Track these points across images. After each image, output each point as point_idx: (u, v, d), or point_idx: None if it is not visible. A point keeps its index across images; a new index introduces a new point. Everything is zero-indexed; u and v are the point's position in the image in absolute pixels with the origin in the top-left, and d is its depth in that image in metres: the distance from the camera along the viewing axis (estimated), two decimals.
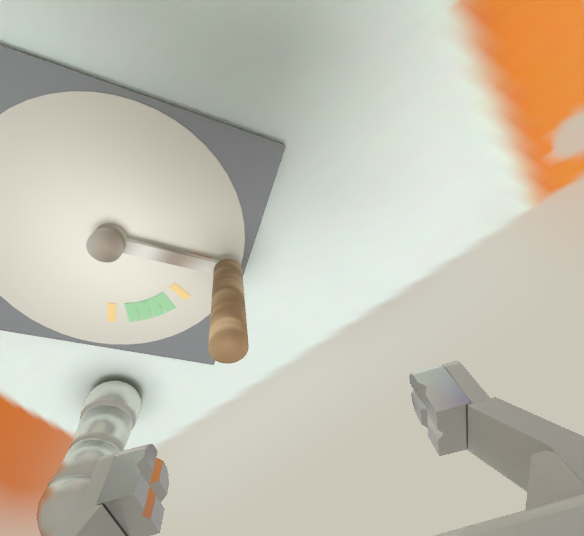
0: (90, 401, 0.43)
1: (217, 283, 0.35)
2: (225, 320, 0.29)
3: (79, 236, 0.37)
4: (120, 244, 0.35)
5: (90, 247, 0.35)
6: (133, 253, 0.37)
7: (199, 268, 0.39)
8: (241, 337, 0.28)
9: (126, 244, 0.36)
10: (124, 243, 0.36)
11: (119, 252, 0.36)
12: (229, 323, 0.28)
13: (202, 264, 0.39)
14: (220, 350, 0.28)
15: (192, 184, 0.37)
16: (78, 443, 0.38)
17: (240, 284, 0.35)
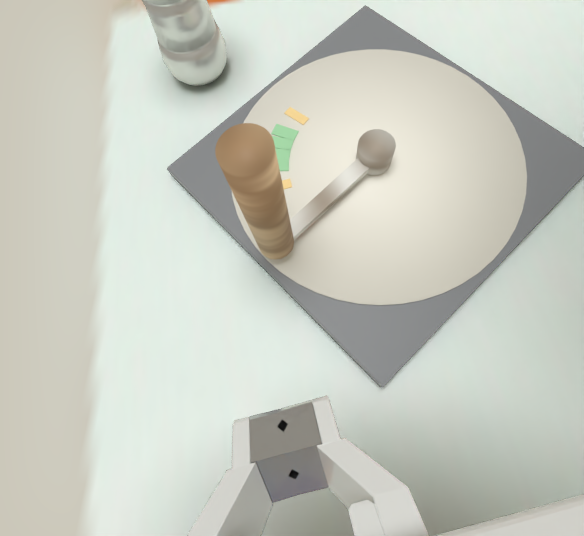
0: (220, 36, 0.37)
1: None
2: (275, 173, 0.20)
3: None
4: (372, 159, 0.31)
5: (383, 133, 0.32)
6: (351, 166, 0.32)
7: (298, 216, 0.31)
8: (249, 170, 0.18)
9: (364, 166, 0.32)
10: (367, 165, 0.32)
11: (364, 153, 0.31)
12: (271, 173, 0.19)
13: (300, 221, 0.31)
14: (247, 136, 0.19)
15: (388, 264, 0.31)
16: None
17: (270, 238, 0.26)
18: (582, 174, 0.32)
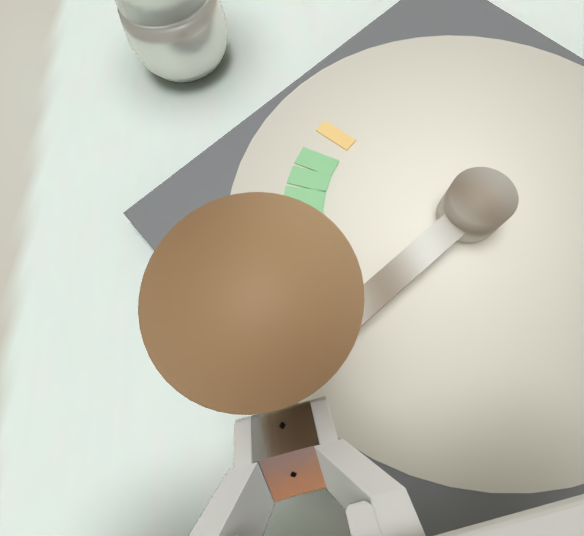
0: (217, 4, 0.23)
1: None
2: None
3: None
4: (476, 221, 0.18)
5: (494, 175, 0.18)
6: (434, 228, 0.19)
7: None
8: (263, 396, 0.04)
9: (457, 229, 0.19)
10: (463, 228, 0.18)
11: (462, 209, 0.18)
12: None
13: None
14: (262, 245, 0.05)
15: (500, 408, 0.18)
16: None
17: None
18: None
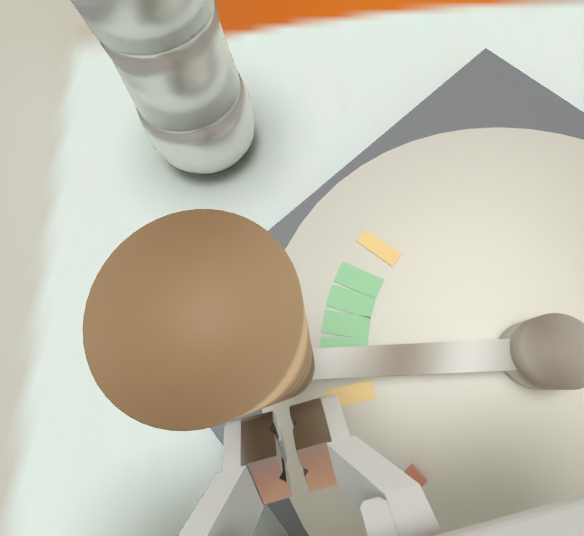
0: (246, 99, 0.21)
1: (307, 379, 0.13)
2: (255, 410, 0.06)
3: (554, 304, 0.19)
4: (533, 368, 0.15)
5: None
6: (489, 343, 0.17)
7: (344, 353, 0.17)
8: (135, 400, 0.05)
9: (510, 361, 0.17)
10: (516, 364, 0.16)
11: (528, 348, 0.16)
12: None
13: (341, 364, 0.17)
14: (232, 277, 0.05)
15: None
16: (212, 8, 0.16)
17: None
18: None
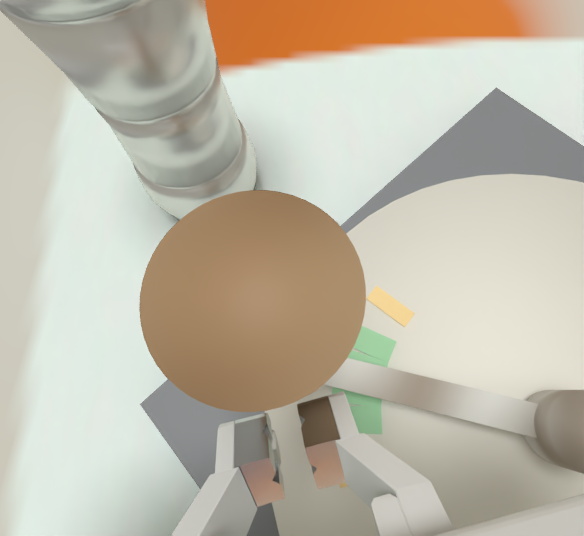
0: (248, 149, 0.20)
1: None
2: None
3: (577, 369, 0.18)
4: (556, 441, 0.15)
5: None
6: (514, 402, 0.16)
7: (362, 368, 0.17)
8: (176, 363, 0.05)
9: (531, 427, 0.16)
10: (538, 432, 0.15)
11: (556, 419, 0.15)
12: None
13: (356, 378, 0.17)
14: (298, 270, 0.05)
15: None
16: (213, 68, 0.14)
17: None
18: None
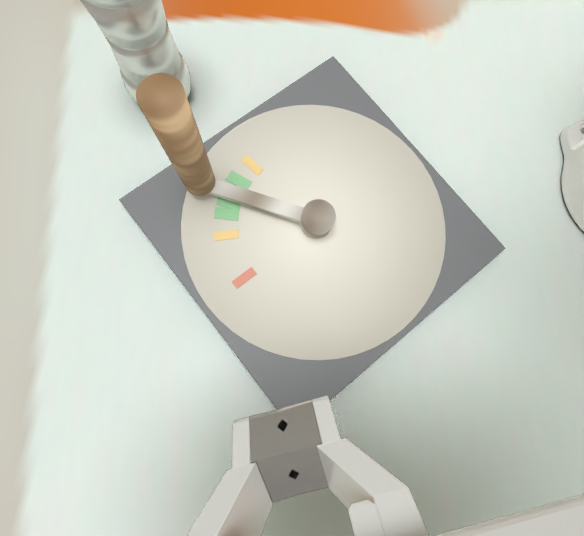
0: (184, 71, 0.37)
1: (200, 171, 0.31)
2: (168, 129, 0.24)
3: (333, 201, 0.38)
4: (303, 217, 0.35)
5: (332, 215, 0.35)
6: (295, 206, 0.36)
7: (230, 186, 0.36)
8: (143, 105, 0.23)
9: (300, 216, 0.36)
10: (301, 218, 0.35)
11: (305, 209, 0.35)
12: (161, 125, 0.24)
13: (226, 191, 0.36)
14: (170, 91, 0.23)
15: (314, 322, 0.35)
16: (164, 27, 0.31)
17: (174, 167, 0.31)
18: (488, 261, 0.38)
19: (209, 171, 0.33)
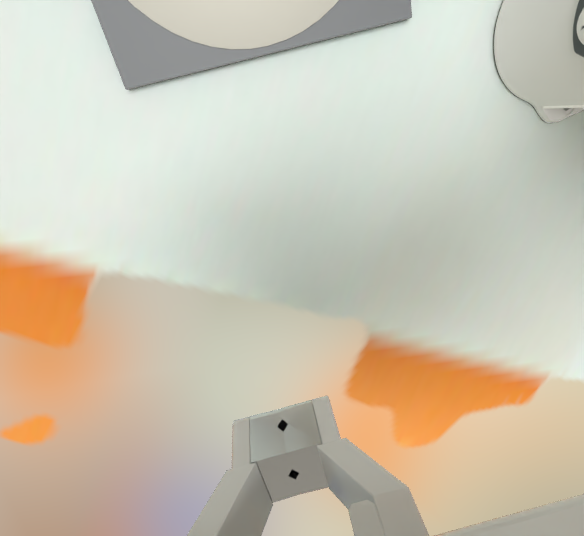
0: None
1: None
2: None
3: None
4: None
5: None
6: None
7: None
8: None
9: None
10: None
11: None
12: None
13: None
14: None
15: None
16: None
17: None
18: (387, 21, 0.35)
19: None
